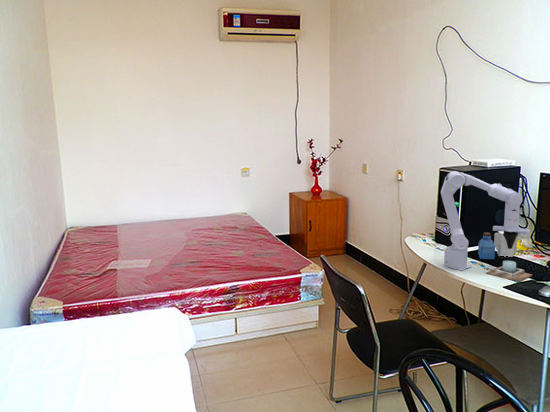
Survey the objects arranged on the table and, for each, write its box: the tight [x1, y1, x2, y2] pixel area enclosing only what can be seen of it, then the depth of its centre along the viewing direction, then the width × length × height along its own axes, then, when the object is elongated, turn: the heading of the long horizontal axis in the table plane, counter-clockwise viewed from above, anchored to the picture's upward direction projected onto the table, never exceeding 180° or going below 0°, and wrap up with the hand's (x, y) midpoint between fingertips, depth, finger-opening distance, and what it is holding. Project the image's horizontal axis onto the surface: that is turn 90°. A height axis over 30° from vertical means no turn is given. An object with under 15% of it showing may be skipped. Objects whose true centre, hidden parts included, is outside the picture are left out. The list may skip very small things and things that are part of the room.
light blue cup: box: [502, 260, 517, 274], centre depth 188 cm, size 5×5×5 cm
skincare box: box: [496, 231, 514, 258], centre depth 212 cm, size 6×4×12 cm
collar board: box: [486, 265, 533, 283], centre depth 188 cm, size 14×11×2 cm
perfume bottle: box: [477, 232, 496, 260], centre depth 212 cm, size 6×6×12 cm
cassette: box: [493, 232, 518, 253], centre depth 222 cm, size 12×2×8 cm, turn 28°
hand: (510, 248), depth 194 cm, fingers closed
